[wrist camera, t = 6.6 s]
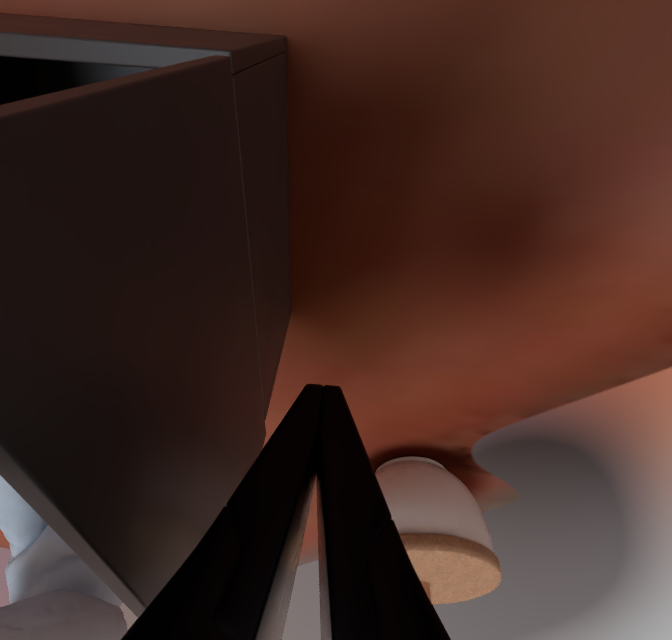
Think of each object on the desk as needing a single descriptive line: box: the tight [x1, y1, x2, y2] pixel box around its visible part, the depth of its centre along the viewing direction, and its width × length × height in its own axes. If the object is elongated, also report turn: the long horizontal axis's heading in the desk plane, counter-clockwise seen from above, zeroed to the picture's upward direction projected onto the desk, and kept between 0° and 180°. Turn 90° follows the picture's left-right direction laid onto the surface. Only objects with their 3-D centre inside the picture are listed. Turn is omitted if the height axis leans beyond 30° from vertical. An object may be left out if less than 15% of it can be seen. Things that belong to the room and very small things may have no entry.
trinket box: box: [375, 456, 502, 604], centre depth 29 cm, size 11×11×9 cm
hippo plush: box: [0, 475, 127, 640], centre depth 27 cm, size 18×23×18 cm
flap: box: [0, 55, 266, 618], centre depth 9 cm, size 7×13×1 cm
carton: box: [0, 13, 291, 420], centre depth 15 cm, size 15×13×8 cm
